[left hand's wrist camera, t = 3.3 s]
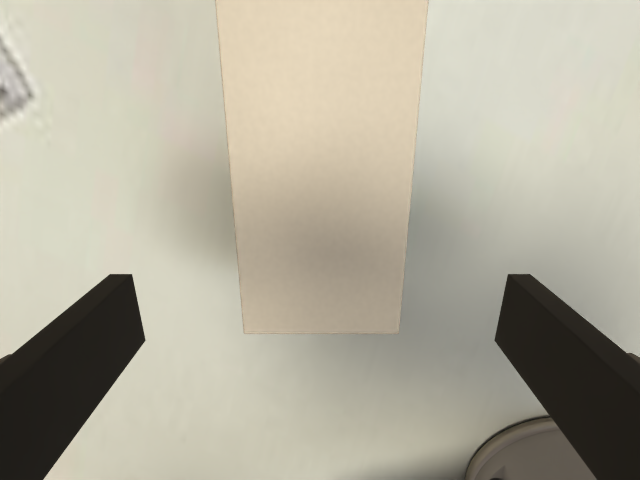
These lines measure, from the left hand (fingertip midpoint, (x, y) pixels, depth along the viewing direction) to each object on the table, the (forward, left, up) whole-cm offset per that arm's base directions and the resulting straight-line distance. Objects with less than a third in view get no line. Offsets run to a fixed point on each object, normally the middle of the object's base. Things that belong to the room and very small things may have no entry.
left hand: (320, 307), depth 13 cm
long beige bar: (+24, -11, -15) cm, 30 cm away
